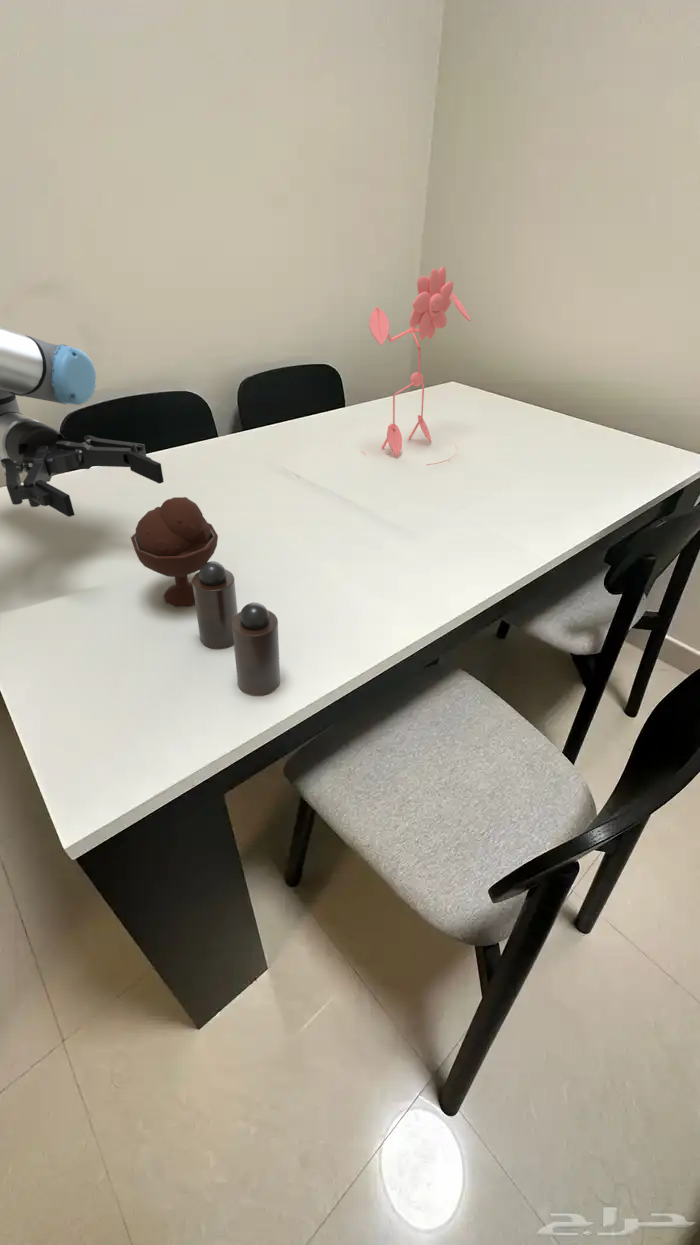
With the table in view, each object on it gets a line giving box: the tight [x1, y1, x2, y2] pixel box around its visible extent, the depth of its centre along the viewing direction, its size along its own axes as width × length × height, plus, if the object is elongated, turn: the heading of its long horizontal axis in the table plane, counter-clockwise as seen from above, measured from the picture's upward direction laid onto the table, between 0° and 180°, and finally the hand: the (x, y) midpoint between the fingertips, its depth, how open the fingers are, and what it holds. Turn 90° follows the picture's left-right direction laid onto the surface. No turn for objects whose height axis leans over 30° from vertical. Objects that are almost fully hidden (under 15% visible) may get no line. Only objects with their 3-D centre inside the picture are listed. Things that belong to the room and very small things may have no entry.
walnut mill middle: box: [191, 560, 239, 650], centre depth 72 cm, size 5×5×11 cm
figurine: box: [360, 266, 472, 466], centre depth 117 cm, size 15×26×35 cm, turn 134°
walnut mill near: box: [232, 602, 281, 697], centre depth 66 cm, size 5×5×11 cm
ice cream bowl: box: [130, 496, 219, 608], centre depth 77 cm, size 11×11×15 cm
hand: (117, 489), depth 76 cm, fingers open, 13 cm apart
